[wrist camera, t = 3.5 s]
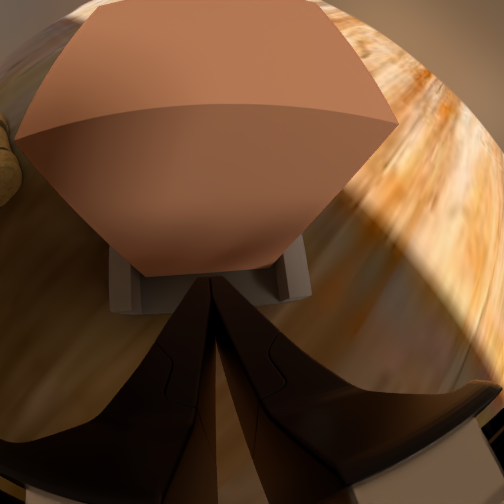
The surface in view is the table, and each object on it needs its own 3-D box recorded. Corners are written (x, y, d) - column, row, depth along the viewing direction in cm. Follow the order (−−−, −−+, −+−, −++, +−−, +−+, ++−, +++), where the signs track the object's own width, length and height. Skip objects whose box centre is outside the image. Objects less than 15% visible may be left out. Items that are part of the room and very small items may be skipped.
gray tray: (294, 301, 16) (319, 292, 13) (127, 315, 15) (102, 310, 11) (257, 88, 21) (265, 54, 17) (143, 93, 19) (137, 59, 16)
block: (269, 267, 16) (398, 124, 4) (145, 277, 14) (14, 140, 3) (256, 176, 17) (315, 2, 6) (147, 182, 16) (98, 6, 4)
